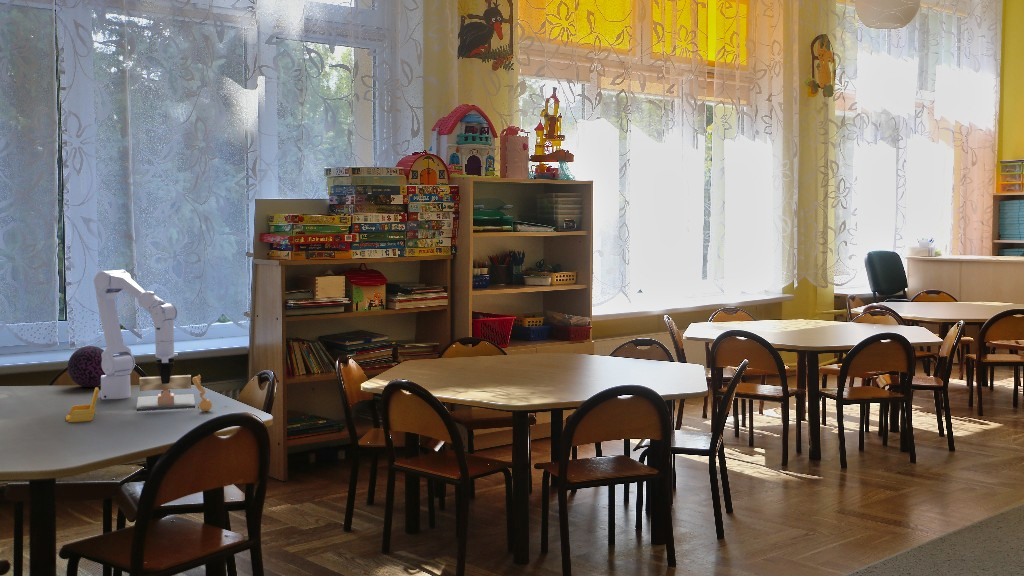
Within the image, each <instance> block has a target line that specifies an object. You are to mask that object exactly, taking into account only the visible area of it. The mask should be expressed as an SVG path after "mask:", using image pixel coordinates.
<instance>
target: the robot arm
mask: <svg viewBox="0 0 1024 576" xmlns="http://www.w3.org/2000/svg"><path fill="white" fill-rule="evenodd" d="M93 285H94V290H95V293H96V294H95V297H96V302H97V309H98V312H99V317H100V320H101V321H100V322H101V326H102V331H103V337H104V340H105V345H106V348H104V349H105V350H104V349H103V350H104V352H103V353H102V354H101V356H102V363H101V366H102V370H103V371H104V373H105V375H101V385H100V392H99V393H100V399H101V400H122V399H123V400H124V399H127V398H128V399H129V398H130V397H131V395H132V394H131V374H132V371H133V370H134V368H135V366H136V360H135V357H134V354H132V350H131V348H130V347H128V346H127V345H126V344H125V342H124V339H123V335H122V329H121V324H120V321H119V315H118V311H117V305H116V302H115V300H116V297H117V296H118V295H119V294H121V292H123V290H124V291H125V292H127V293H128V294H129V295H131V296H132V297H134V298H135V299H137V303H138V305H139V306H141V308H143V309H144V310H145V311H146V312H148V313H149V314H150V318H151V320H152V321H153V326H154V330H155V331H154V333H155V334H154V336H155V341H154V342H155V355H154V357H155V361H156V362H155V365H156V367H157V369H158V372H159V377H160V376H161V381H162V384H169V381H170V376H172V375H171V374H172V371H173V368H174V367H173V366H174V365H175V362H174V360H175V357H178V356H179V355H178V354H179V353H178V352H175V338H174V337H175V332H174V331H175V330H174V321H175V320H176V318H177V316H178V309H177V307H176V306H175V305H174V304H173V303H172V302H168V303H167V302H165V300H164V299H161V298H160V297H158V296H157V294H156V292H154V291H150V290H147V291H146V290H144V288H142V287H141V286H140V285H139V284H138V283H137V282H136V281H135V280H134V279H132V276H131V274H130V273H129V272H127V271H126V269H117V270H115V269H114V270H99V271H98V272H97V273H96V275H95V276H94V278H93Z"/></svg>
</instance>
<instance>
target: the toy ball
mask: <svg viewBox="0 0 1024 576" xmlns="http://www.w3.org/2000/svg"><path fill="white" fill-rule="evenodd" d="M103 352H104V349H102V348H101V347H98V346H94V345H87V346H83V347H80V348H78V349H77V350H75V351H74V352H73V353H72V354H71V356H70V357H69V359H68V361H67V373H68V376H69V377H70V379H71V380H72V382H74V383H75V384H77V385H78V386H81V387H83V388H95V387H98V386H101V375H105V373H104V371H103V370H102V366H101V363H102V356H101V354H102V353H103Z"/></svg>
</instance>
